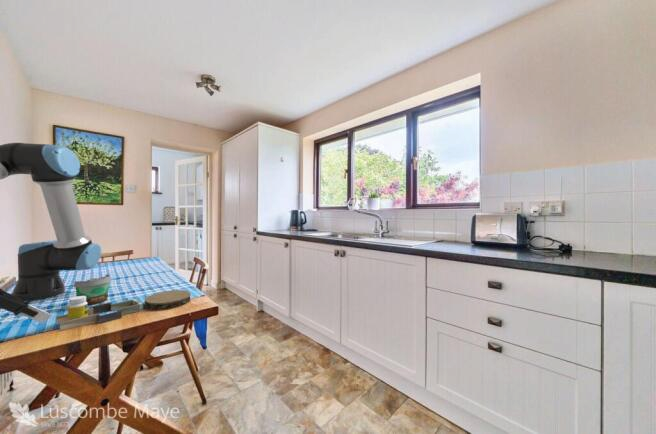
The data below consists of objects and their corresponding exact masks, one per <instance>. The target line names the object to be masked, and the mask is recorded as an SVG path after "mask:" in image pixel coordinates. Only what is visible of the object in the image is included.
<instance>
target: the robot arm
mask: <svg viewBox="0 0 656 434" xmlns="http://www.w3.org/2000/svg"><path fill="white" fill-rule="evenodd" d="M80 169H81V163H80V160H79V158H78V155H77V154H76V153H74V151H72V150H71V149H70V148H68V147H66V146H63V145H55V144H44V143H30V142H29V143H27V142H9V143H3V144H0V180H4V179H6V178H8V177H9V176H15V175H30V176H31V180H32V182H33V183H35V184H38V185H39V186H40V189H41V193H42V194H43V198H44V202H45V204H46V209H47V212H48V215H49V218H50V221H51V224H52V227H53V230H54V233H55V237H56V240H48V241H39V242H29V243H24V244H22V245H19V246H18V252H17V273H18V274H17V275H18V276H17V277H18V278H17V279H18V280H17V282H16V284H15V285H14V287H13V290H12V292H11V293H9V292H7V291H6V290H3V289H2V288H0V309H2V310H5V311H8V312H11V313H13V314H14V317H17V316H19V315H21V316H23V317H27V318H28V319H31V320H33V321H35V322H38V323H40V324H43V325H44V324H45V322H47V321H48V320H49V319H50V318H51V317H52V313H50V312H48V311H45V310H42V309H41V308H39V307H37V306H34V305H32V304H30V303H31V301H32V300H40V299H44V298H50V297H53V296H57V295H61V294H63V293H65V291H66V289H65V283H64V281H63V280H62V278H61V276H60V271H78V272H79V271H85V270H88V271H89V270H91V269H92V268H94V267H95V266H97V264H98V263H99V262H100V259H101V255H102V248H101V246H100V245H99V244H98V243H93V242H92V238H91V237H90V236H89V235H86V233H85V229H84V226H83V222H82V218H81V215H80V211H79V208H78V207H79V206H78V204H77V199H76V195H75V192H74V188H73V184H72V183H73V182H74V181H75V180H76V176H77V175H78V174H79V173H80Z"/></svg>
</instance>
